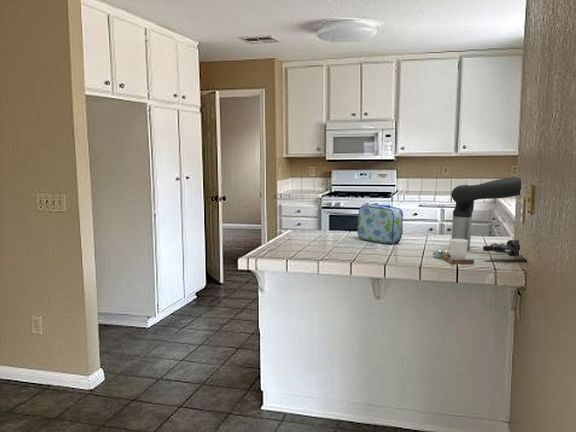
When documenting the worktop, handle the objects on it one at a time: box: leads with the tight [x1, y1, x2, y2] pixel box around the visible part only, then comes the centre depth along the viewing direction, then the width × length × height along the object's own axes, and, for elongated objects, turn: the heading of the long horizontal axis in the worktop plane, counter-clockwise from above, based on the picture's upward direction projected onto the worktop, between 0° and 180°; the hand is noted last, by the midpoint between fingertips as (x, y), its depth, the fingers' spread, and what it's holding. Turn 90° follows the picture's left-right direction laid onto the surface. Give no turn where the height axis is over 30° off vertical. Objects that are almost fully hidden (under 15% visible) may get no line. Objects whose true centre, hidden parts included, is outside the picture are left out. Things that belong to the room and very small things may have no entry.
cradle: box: [441, 255, 475, 266], centre depth 239 cm, size 12×10×2 cm
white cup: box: [449, 238, 468, 260], centre depth 239 cm, size 8×8×10 cm
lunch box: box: [357, 203, 404, 245], centre depth 288 cm, size 26×11×21 cm, turn 42°
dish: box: [432, 251, 450, 260], centre depth 248 cm, size 7×7×2 cm
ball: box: [435, 249, 444, 254], centre depth 248 cm, size 3×3×3 cm
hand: (483, 248), depth 240 cm, fingers closed
